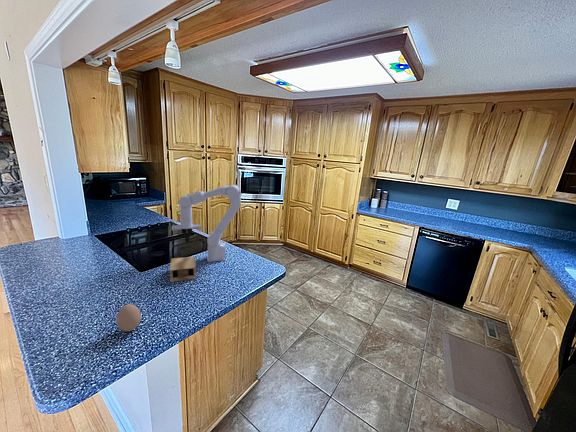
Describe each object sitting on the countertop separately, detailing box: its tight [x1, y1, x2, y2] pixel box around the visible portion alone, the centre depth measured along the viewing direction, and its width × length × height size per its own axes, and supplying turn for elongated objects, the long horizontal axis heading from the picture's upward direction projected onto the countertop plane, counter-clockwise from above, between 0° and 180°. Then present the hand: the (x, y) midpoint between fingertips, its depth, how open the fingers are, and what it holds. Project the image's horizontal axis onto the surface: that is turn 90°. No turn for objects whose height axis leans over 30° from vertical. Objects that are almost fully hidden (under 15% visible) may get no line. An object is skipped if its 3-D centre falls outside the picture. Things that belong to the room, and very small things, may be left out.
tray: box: [176, 269, 190, 277], centre depth 115 cm, size 5×13×4 cm, turn 23°
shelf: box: [169, 256, 197, 283], centre depth 113 cm, size 11×12×6 cm
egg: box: [116, 303, 142, 332], centre depth 76 cm, size 7×7×9 cm
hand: (187, 241), depth 128 cm, fingers closed
